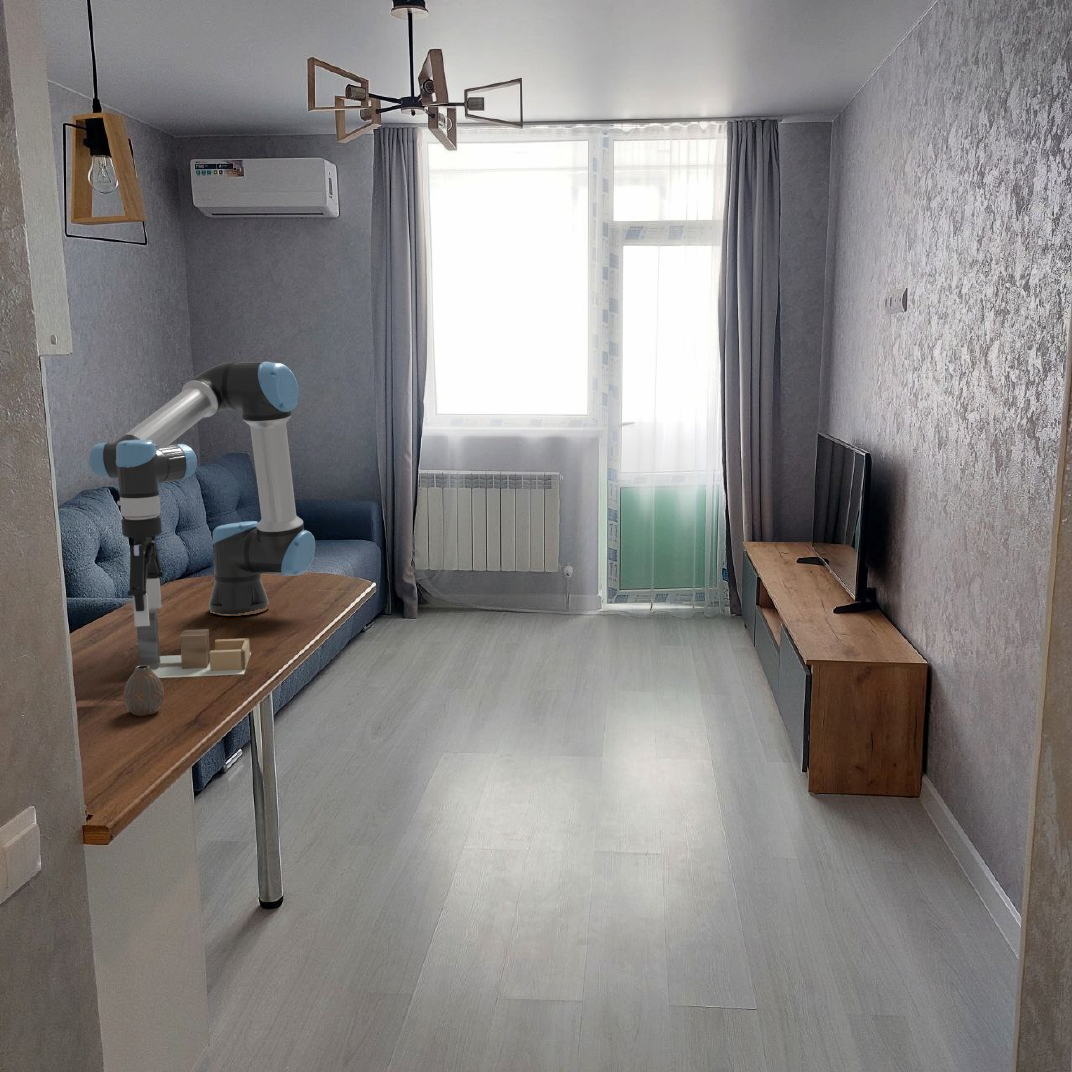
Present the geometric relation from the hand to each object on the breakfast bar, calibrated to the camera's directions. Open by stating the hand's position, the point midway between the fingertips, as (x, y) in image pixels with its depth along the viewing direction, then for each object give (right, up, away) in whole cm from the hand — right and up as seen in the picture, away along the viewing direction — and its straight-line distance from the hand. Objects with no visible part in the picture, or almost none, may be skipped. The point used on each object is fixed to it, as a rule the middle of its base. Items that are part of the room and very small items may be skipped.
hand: (148, 616), depth 208 cm
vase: (+8, -16, -23) cm, 29 cm away
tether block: (+5, -10, +2) cm, 12 cm away
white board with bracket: (+8, -11, +3) cm, 15 cm away
